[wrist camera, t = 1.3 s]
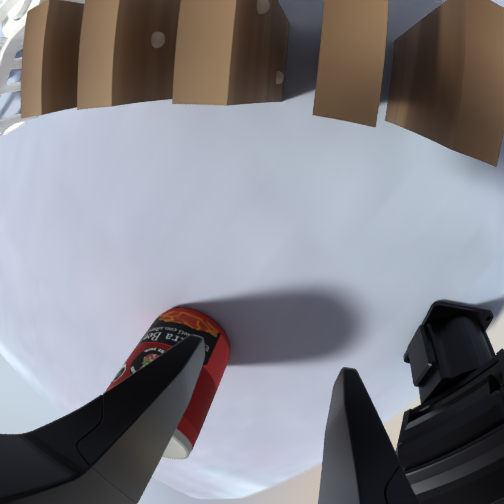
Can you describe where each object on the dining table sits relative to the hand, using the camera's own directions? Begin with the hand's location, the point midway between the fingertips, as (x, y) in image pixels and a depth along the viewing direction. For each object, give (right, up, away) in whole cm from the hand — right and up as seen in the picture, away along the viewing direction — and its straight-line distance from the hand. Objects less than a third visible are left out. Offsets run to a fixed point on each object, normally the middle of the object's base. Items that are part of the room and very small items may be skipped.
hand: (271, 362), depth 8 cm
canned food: (-6, -5, +19) cm, 20 cm away
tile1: (+8, +13, +5) cm, 16 cm away
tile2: (+4, +13, +6) cm, 15 cm away
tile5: (-7, +15, +7) cm, 18 cm away
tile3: (+1, +14, +6) cm, 15 cm away
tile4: (-3, +15, +7) cm, 17 cm away
